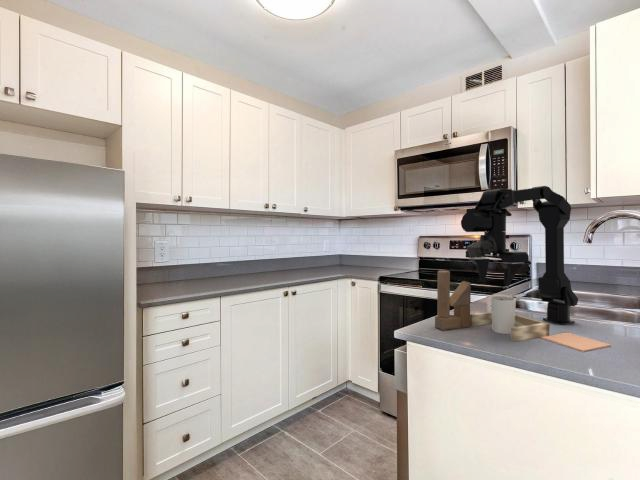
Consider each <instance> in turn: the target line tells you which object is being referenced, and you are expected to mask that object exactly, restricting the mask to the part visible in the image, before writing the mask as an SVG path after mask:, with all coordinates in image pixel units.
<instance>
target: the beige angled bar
mask: <svg viewBox="0 0 640 480" xmlns="http://www.w3.org/2000/svg"><path fill="white" fill-rule="evenodd" d="M484 324H485V325H492V311H485V312H480V313H477V312H476V313H470V327H477V326H483V325H484ZM485 325H484V326H485ZM544 336H550V323H548V322H546V321H545V322H544V321H541V320H537V319H533V318H531V317H526V316H523V315H519V314H516V313H515V321H514V327H513V328H511V334H510V341H512V342H520V341H526V340H532V339H537V338H541V337H544Z"/></svg>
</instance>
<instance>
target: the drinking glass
mask: <svg viewBox="0 0 640 480" xmlns="http://www.w3.org/2000/svg"><path fill="white" fill-rule="evenodd" d="M490 299H491V300H490V302H491V312H492V324H491V328H492V329H491V330H492V331H493V332H494V333H497V334H498V333H499V334H503V335H508V334H509V335H511V328H513V327H515V326H514V321H515V314H516V303H517V298H515V297H511V296H504V295H493V296H491V298H490Z"/></svg>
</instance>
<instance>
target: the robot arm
mask: <svg viewBox="0 0 640 480" xmlns="http://www.w3.org/2000/svg"><path fill="white" fill-rule="evenodd" d="M542 200H544V201H542ZM545 200H546V201H545ZM528 201H532V207H533V209H534V210H535V211H536V212H537V214H538V220H539V222H540V224H541V225H542V226H543V227H544V243H545V244H544V246H545V249H544V250H545V251H544V252H545V255H544V258H545V259H544V260H545V265H544V266H545V272H544V274H543V275H542V276H540V277H538V279H537V280H538V286H537V290H539V295H540V299H541V301H542V302H547V308H546V317H543V318H542V320H543V321H545V322H546V321H547V322H550V323H553V324H557V325H559V326H560V325H569V324H571V325H572V324H574V323H576V322H575V320H572V319H571V307H576V306H577V305H578V302H579V297H578V296H577V295H576V294H575V292H574V291H573V290H572V285H571V284H572V283H571V281H570V279H569V277H568V276H567V274H566V273H565V227H566V225H567V224H568V223H569V221H570V220H571V212H572V206H571V204H570V203H569V202H568V200H567V199H566V198H565V197H564V196H563V195H561V194H559V193H557V192H555V191H553V190H552V189H551V188H550V187H549V186H547V185H541V186H539V185H538V186H533V187H531V188H530V187H529V188H523V189H517V190H516V189H515V190H514V189H512V188H497V189H496V188H495V189H488V190H485V191H483V192H482V194H481V197H480V199H479V200H478V201H477V203H476V205H475V206H474V208H466V213H465V214H463V216H462V218H461V220H460V226H461V228H462V230H463V231H464V232H466V233H483V234H481V235H480V236H479V237H480V238H479V240H478V241H475V242H473V243H471V244H469V245H467V246H466V250H465V258H468V260H469V261H470V262H472V263H473V264H474V265H475V267H476V270H477V273H478V276H479V280H480V281H481V282H486V279H487V278H486V277H487V274H488V271H489V263H490V258H491V259H500V260H501V261H502V262H500V265H501V266H502V268H503V281H504V283H503V284H504V287H506V288H507V287H510V285H511V284H512V281H513V280H514V278H515V276H516V274H517V273H518V271H520V268H521V267H522V266H525V263H530V262H529V257H530V255H529V254H528V253H527V252H526V251H517V250H514V251H511V250H510V249H509V248H506V247H507V244H506V243H507V239H510V235H509V234H507V217H512V216H513V215H512V213H511V212H510V211H508V209H507V208H508V207H511V206H513V205H514V204H516V203H521V202H528Z"/></svg>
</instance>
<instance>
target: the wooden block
mask: <svg viewBox="0 0 640 480" xmlns="http://www.w3.org/2000/svg"><path fill="white" fill-rule="evenodd" d="M450 280H451V272H450V270H444V269H443V270H438V271H437V308H436V310H437V314H436V315H435V316H434V328H435V329H439V330H440V331H446V330H454V329H463V328H470V327H471V326H470V314H471V300H472V299H471V292H472V291H471V290H472V289H471V286H472V285H471V282H469V281H466V280H465V281H464V280H462V281H461V282H460V283H459V284H458V286H457V287H456V289H455V290H453V293H452V294H451V295H450V293H451V289H450V288H451V286H450V285H451V281H450ZM451 307H453V314H450V312H451V311H450V310H451Z"/></svg>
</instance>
